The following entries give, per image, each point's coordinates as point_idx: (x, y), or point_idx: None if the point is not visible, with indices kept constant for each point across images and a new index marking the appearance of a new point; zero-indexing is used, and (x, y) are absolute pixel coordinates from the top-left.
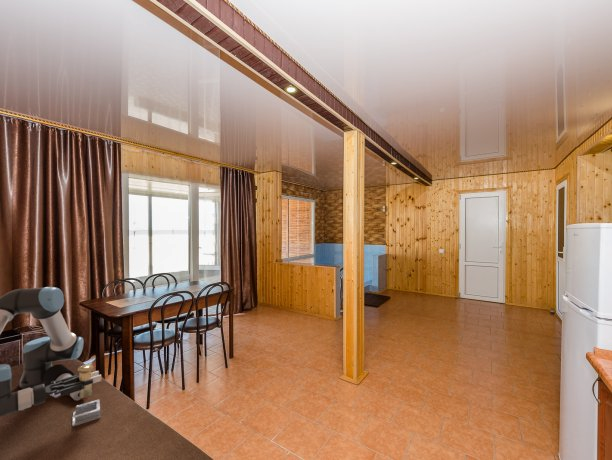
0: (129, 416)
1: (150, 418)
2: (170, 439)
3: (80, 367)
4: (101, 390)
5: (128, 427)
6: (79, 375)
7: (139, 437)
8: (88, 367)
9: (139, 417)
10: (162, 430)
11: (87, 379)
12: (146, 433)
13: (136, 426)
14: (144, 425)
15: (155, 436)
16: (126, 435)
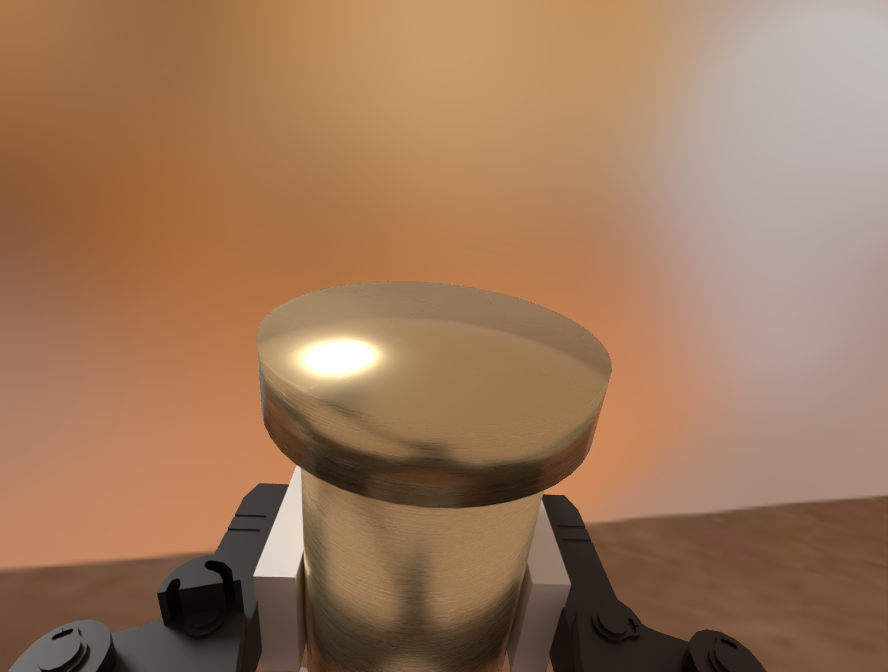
0: (611, 581)
1: (679, 516)
2: (884, 516)
3: (359, 367)
4: (28, 627)
5: (744, 620)
6: (441, 572)
7: (866, 604)
8: (516, 316)
9: (647, 547)
10: (805, 515)
11: (553, 534)
12: (826, 568)
13: (743, 584)
14: (742, 553)
15: (857, 548)
16: (840, 655)
